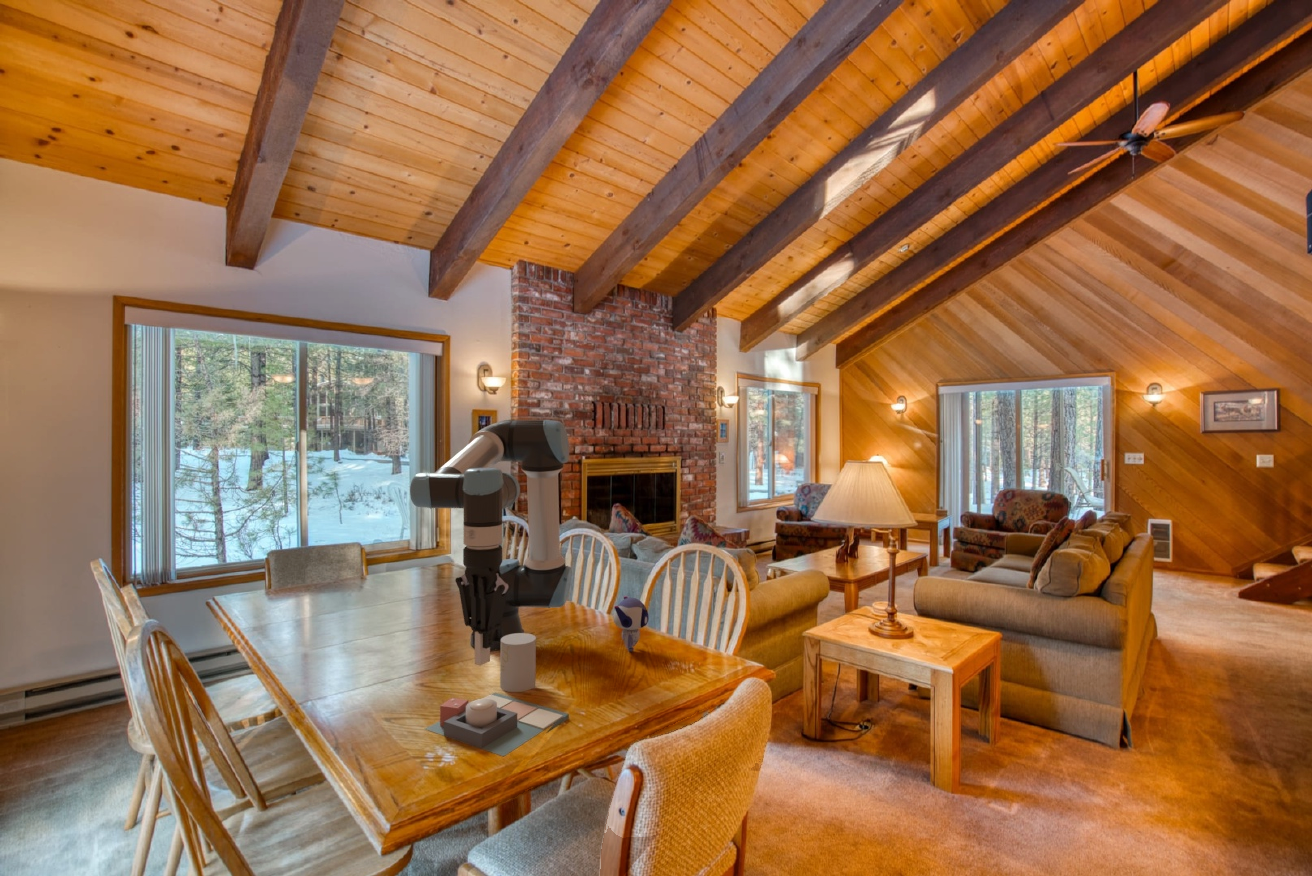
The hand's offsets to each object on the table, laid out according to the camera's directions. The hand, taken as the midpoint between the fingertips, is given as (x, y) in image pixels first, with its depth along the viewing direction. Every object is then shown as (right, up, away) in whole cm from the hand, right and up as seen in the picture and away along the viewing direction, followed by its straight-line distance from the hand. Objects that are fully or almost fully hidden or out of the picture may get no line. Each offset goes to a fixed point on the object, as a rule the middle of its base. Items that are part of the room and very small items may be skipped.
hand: (482, 662), depth 124 cm
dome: (0, -13, 0) cm, 13 cm away
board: (+2, -15, +4) cm, 15 cm away
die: (-7, -14, +3) cm, 16 cm away
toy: (+28, -15, +48) cm, 58 cm away
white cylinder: (+2, -15, +23) cm, 27 cm away
